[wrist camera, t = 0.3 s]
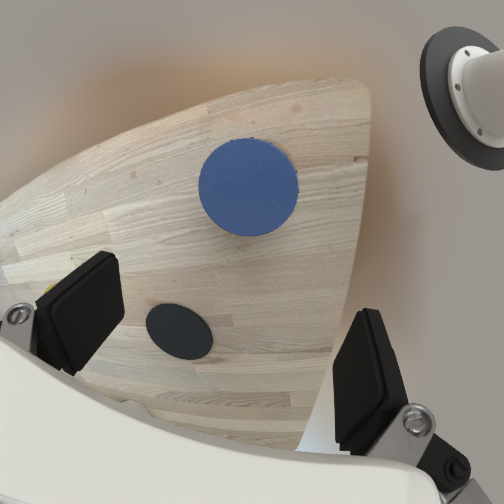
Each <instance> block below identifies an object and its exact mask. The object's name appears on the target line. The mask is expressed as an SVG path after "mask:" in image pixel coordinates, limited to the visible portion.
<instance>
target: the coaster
mask: <svg viewBox="0 0 504 504" xmlns="http://www.w3.org/2000/svg"><path fill="white" fill-rule="evenodd" d="M146 327H147V331H148V333H149V335H150V337H151V339H152V340H153V341H154V343H155V344H156V345H157V346H158V347H159V348H161V349H162V350H163V351H165V352H166V353H168V354H170V355H172V356H174V357H177V358H180V359H186V360H195V359H199V358H202V357H204V356H205V355H207V354H208V352H209V351H210V349H211V347H212V343H213V337H212V333H211V331H210V329H209V327H208V325H207V324H206V322H205V321H204V320H203V319H202V318H201V317H200V316H199V315H197V314H196V313H195V312H193V311H191V310H190V309H188V308H186V307H183V306H180V305H176V304H161V305H158V306H156V307H154V308H153V309H152V310H151V311H150V312H149V314H148V316H147V318H146Z"/></svg>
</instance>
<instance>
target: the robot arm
mask: <svg viewBox="0 0 504 504" xmlns="http://www.w3.org/2000/svg"><path fill="white" fill-rule="evenodd" d="M448 86H449V92H450V95H451V99H452V102H453V105H454V107H455V110H456V112H457V114H458V116H459V118H460V120H461V121H462V123H463V124H464V126H465V127H466V129H467V130H468V131H469V132H470V133H471V135H472V136H473V137H475V138H476V139H477V140H478V141H479V142H481V143H483V144H485V145H487V146H490V147H495V148H502V147H504V49H503V50H499V51H496V52H492V53H489V52H488V51H486V50H484V49H482V48H480V47H476V46H466V47H463V48H461V49H459V50H457V51H456V52H455V53H454V54H453V55H452V57H451V59H450V62H449V66H448ZM35 303H36V306H37V309H36V310H34V308H33V306H32V305H30V304H28V303H19V304H15V305H13V306H12V307H10V308H9V309H8V310H7V311H6V312H5V315H4V317H3V321H0V504H492V503H491V502H490V500H489V499H488V497H487V496H486V494H485V493H484V492H483V490H482V489H481V487H480V486H479V485H478V483H477V482H476V480H475V479H474V478H472V479H471V480H470V479H469V477H470V474H471V467H470V463H469V461H468V459H467V458H466V457H465V456H464V455H463V454H461V453H460V452H459V451H457V450H456V449H455V448H453V447H452V446H451V445H449V444H448V443H447V442H445V441H444V440H443V439H441V438H440V437H439V436H437V435H436V434H434V431H435V428H436V423H435V418H434V416H433V414H432V413H431V411H430V410H429V409H427V408H426V407H425V406H423V405H421V404H417V403H411V404H409V403H408V399H407V395H406V391H405V387H404V383H403V380H402V376H401V373H400V369H399V366H398V363H397V359H396V356H395V353H394V350H393V348H392V347H391V344H390V341H389V338H388V335H387V332H386V329H385V326H384V323H383V320H382V317H381V314H380V312H379V310H374V309H368V308H364V309H363V310H362V311H358V312H357V313H356V316H355V318H354V320H353V322H352V325H351V327H350V329H349V331H348V333H347V336H346V338H345V340H344V342H343V344H342V346H341V348H340V350H339V352H338V354H337V356H336V358H335V360H334V363H333V385H334V407H335V440H336V443H340V451H350V455H337V454H322V453H310V452H300V451H292V450H285V449H277V448H271V447H264V446H258V445H253V444H248V443H243V442H238V441H233V440H229V439H225V438H221V437H217V436H213V435H209V434H205V433H202V432H198V431H195V430H192V429H188V428H185V427H182V426H179V425H176V424H173V423H170V422H167V421H164V420H161V419H158V418H156V417H153V416H150V415H148V414H145V413H143V412H140V411H138V410H135V409H133V408H131V407H128V406H126V405H124V404H122V403H119V402H117V401H115V400H113V399H111V398H109V397H106V396H104V395H102V394H100V393H98V392H96V391H94V390H92V389H90V388H88V387H87V386H85V385H83V384H81V383H79V382H77V381H76V380H74V379H72V378H70V377H69V376H67V375H65V374H63V373H62V372H60V370H61V369H62V368H63V370H64V371H65V372H66V373H68V374H70V375H72V376H74V375H75V374H76V372H77V371H81V370H82V369H83V367H84V366H85V365H86V363H87V362H88V361H89V360H90V358H91V357H92V356H93V355H94V353H95V352H96V351H97V349H98V348H99V347H100V346H101V344H102V343H103V342H104V341H105V340H106V338H107V337H108V336H109V335H110V333H111V332H112V331H113V330H114V329H115V327H116V326H117V325H118V324H119V323H120V321H121V320H122V319H123V317H124V313H125V310H124V303H123V297H122V290H121V282H120V273H119V264H118V259H117V258H116V257H115V255H114V254H113V253H109V252H106V251H100V252H98V253H97V254H95V255H94V256H93V257H91V258H90V259H89V260H87V261H86V262H85V263H83V264H82V265H81V266H79V267H78V268H77V269H75V270H74V271H73V272H71V273H70V274H69V275H67V276H66V277H65V278H64V279H62V280H61V281H60V282H59V283H57V284H56V285H55V286H54V287H52V288H51V289H50V290H49V291H47V292H46V293H45V294H44V295H43V296H41V297H40V298H39V299H38V300H37V301H35Z"/></svg>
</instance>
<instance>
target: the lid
mask: <svg viewBox="0 0 504 504" xmlns="http://www.w3.org/2000/svg"><path fill="white" fill-rule="evenodd" d="M272 143H273V142H268V141H265V140H262V139H255V138H254V137H250V138H244V139H236V140H230V142H227V143H225V144H223V145H221V146H220V147H218V148H217V149H216V150H214V151H213V152H212V153H211V154H210V156H209V157H208V158H207V160H206V161H205V163H204V165H203V167H202V169H201V173H200V176H199V196H200V200H201V203H202V205H203V207H204V209H205V211H206V213H207V214H208V216H209V217H210V218H211V219H212V220H213V221H214V222H215V223H216V224H217V225H218V226H220V227H221V228H223V229H224V230H226V231H228V232H230V233H233V234H236V235H241V236H259V235H263V234H267V233H269V232H271V231H273V230H275V229H277V228H278V227H279V226H281V225H282V224H283V223H284V222H285V221H286V220H287V219H288V217H289V216H290V215H291V213H292V211H293V210H294V207H295V205H296V201H297V197H298V193H299V188H298V179H297V170H295V167H294V165H293V163H292V161H291V160H290V158H289V157H288V156H287V155H288V154H286V153H285V152H284V151H283V150H281V149H280V148H279V147H277V146H276V145H274V144H272Z"/></svg>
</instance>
